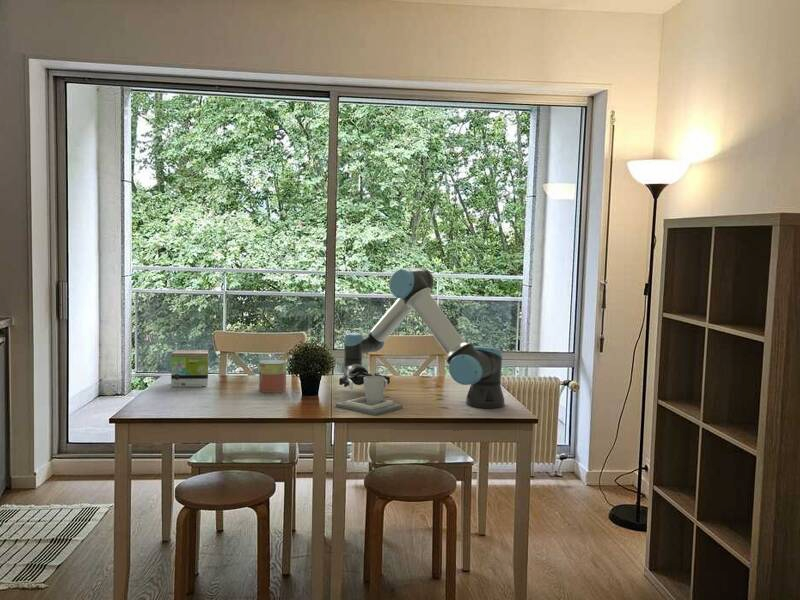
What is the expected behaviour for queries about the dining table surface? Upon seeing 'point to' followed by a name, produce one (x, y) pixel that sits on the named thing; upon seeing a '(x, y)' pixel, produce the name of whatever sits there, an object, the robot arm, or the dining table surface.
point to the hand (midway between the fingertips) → (369, 384)
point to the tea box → (189, 368)
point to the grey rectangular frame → (369, 406)
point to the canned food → (272, 375)
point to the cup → (374, 389)
